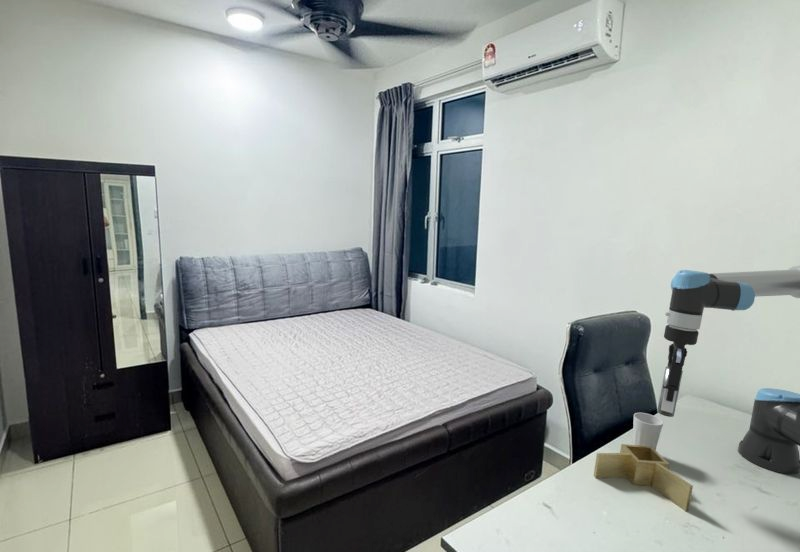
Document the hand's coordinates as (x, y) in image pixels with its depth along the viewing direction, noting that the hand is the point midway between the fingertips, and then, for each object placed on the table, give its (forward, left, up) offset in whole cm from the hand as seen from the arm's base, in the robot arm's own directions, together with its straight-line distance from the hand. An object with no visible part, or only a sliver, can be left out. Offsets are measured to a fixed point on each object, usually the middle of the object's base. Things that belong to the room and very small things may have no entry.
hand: (666, 407), depth 117 cm
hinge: (+8, +4, -22) cm, 23 cm away
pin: (0, 0, -2) cm, 2 cm away
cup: (-4, -13, -22) cm, 25 cm away
